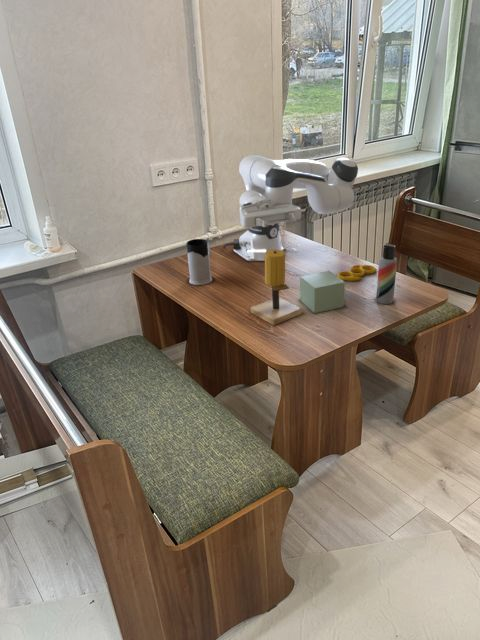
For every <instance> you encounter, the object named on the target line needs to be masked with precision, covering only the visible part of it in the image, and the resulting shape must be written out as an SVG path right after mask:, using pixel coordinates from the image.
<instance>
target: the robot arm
mask: <svg viewBox="0 0 480 640" xmlns="http://www.w3.org/2000/svg"><path fill="white" fill-rule="evenodd" d="M358 172H359V167H358V164H357V163H356V162H355V161H354V160H352V159H350V158H346V157H339V158H336V159H335V161H333V164H332V165H331V169H330V170H329V168H328V166H327V164H325V163H322V162H321V161H320V162H319V161H315V160H309V159H298V158H297V159H296V158H294V159H293V158H286V159H272V158H267V157H265V156H261V155H258V154H252V155H247V156H245V157H243V158H242V159H241V161H240V162H239V166H238V173H239V175H240V177H241V178H242V180H243V183H244V187H245V189H246V190H245V191H244V192H242V194H241V195H240V197H239V202H238V204H239V211H238V213H239V222H240V225H241V226H242V227H243V228H246V229H247V230H246V231H245V232H244V233H243V234H241V235H240V237H239V238H234V239H233V243H232V242H231V243H226V244H224V245H223V246H222V247H223V248H226V247H228V246H229V247H230V246H233V247H232V248H233V252H235V253H236V254H237V255H239V256H240V257H241V258H243V259H244V260H246V261H247V262H265V252H266V251H269V250H281V251H284V247H283V245H282V238H281V236H282V235H281V232H280V223H286V222H289V223H290V224H293V223H296V221H297V220H300V219H301V218H302V208H301V207H299V206H296V205H294V204H293V194H294V193H293V192H294V189H299V190H300V189H301V190H302V189H303V190H305V189H306V194H307V202H308V204H309V206H310V208H311V209H312V210H313V211H314V212H315V213H317V214H319V215H333V214H337V213H340V212H343V211H346V210H348V209H350V208H351V207H352V206H353V204H354V201H355V192H354V190H353V188H354V185H355V181H356V179H357V177H358Z"/></svg>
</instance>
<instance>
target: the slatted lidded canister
mask: <svg viewBox="0 0 480 640" xmlns="http://www.w3.org/2000/svg"><path fill="white" fill-rule="evenodd" d="M285 283H286V252H285V251H284V250H283V251H281V250H269V251H266V252H265V261H264V284H265V285H266V286H268V287H270V288H271V290H272V289H273V290H274V291H279V292H280V291H284V290H289V289H290V287H289V286H288V284H287V283H286V284H285Z"/></svg>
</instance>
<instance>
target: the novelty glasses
mask: <svg viewBox="0 0 480 640" xmlns="http://www.w3.org/2000/svg"><path fill="white" fill-rule="evenodd" d="M376 269H377V268H376V267H375V266H374V265H369V264H356V265H353V266H352V268H350V269H349V271H340V272H338V273H337V275H336V276H337V277H339V278H340V279H341V280H343V281H345V282H346V281H347V282H355V281H356V282H357V281H360V280H361V279H362V277H364V276H365V275H371V274H374V273H376Z"/></svg>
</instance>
